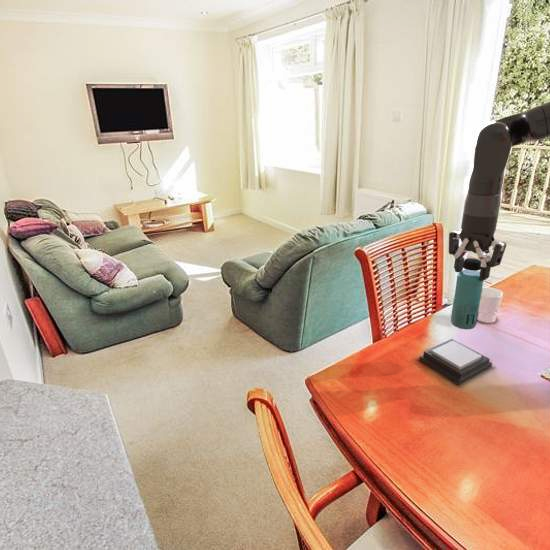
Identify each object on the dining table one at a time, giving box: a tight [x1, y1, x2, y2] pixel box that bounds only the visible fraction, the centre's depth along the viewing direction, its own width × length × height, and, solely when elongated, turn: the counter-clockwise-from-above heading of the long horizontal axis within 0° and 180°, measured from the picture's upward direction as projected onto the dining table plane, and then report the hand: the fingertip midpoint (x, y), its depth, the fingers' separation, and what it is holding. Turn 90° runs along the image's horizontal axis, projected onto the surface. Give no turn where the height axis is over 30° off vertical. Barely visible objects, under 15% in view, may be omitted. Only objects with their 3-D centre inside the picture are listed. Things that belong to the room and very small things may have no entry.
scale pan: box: [431, 340, 483, 370], centre depth 106 cm, size 9×9×2 cm
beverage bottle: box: [450, 257, 484, 330], centre depth 98 cm, size 6×7×20 cm
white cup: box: [477, 286, 504, 324], centre depth 127 cm, size 8×8×10 cm
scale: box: [418, 338, 493, 386], centre depth 106 cm, size 14×13×3 cm
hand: (470, 275), depth 96 cm, fingers closed on beverage bottle, 6 cm apart
